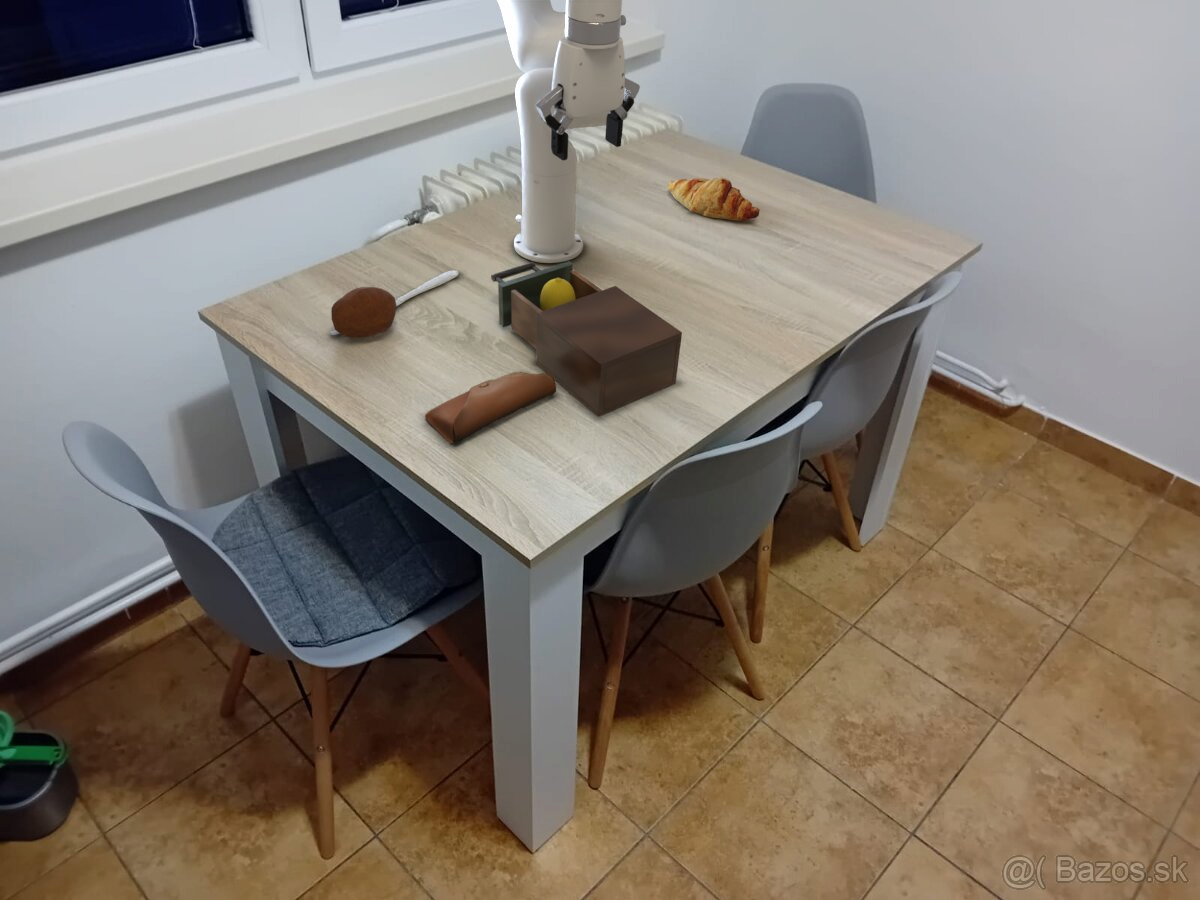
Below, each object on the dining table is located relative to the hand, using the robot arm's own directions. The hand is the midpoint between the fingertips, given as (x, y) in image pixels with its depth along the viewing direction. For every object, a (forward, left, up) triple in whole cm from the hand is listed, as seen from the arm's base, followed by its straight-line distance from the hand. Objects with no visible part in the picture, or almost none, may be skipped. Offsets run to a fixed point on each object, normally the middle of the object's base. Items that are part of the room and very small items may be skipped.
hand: (586, 150), depth 135 cm
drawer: (+3, -9, -26) cm, 27 cm away
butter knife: (-16, -25, -27) cm, 40 cm away
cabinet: (+18, -9, -27) cm, 33 cm away
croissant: (-15, +44, -27) cm, 53 cm away
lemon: (+5, -9, -25) cm, 27 cm away
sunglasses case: (+16, -28, -27) cm, 42 cm away
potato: (-12, -33, -26) cm, 44 cm away
